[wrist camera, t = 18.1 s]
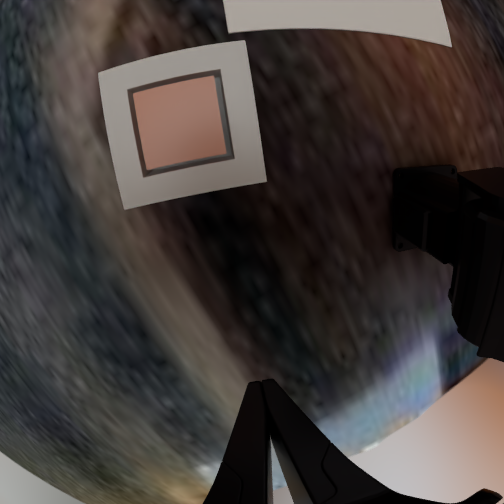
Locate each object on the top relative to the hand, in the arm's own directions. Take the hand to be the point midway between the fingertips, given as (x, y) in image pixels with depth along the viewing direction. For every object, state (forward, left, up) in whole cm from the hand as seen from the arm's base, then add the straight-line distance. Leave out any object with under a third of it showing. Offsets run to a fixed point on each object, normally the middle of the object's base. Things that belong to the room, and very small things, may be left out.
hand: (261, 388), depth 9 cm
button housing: (+2, -9, -12) cm, 15 cm away
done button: (+2, -9, -11) cm, 14 cm away
